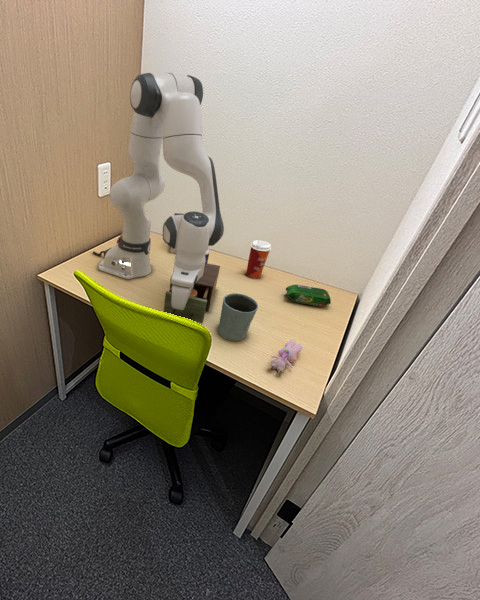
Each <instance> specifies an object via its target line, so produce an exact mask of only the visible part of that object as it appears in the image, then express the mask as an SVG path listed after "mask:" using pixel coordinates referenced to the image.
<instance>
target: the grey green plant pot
mask: <svg viewBox="0 0 480 600" xmlns="http://www.w3.org/2000/svg"><path fill="white" fill-rule="evenodd" d="M258 308H259V305H258V303H257V301H256V300H255V299H254V298H253V297H250V296H248V295H246V294H243V293H237V292H236V293H235V292H234V293H233V292H232V293H228V294H225V296H224V297H223V298H222V303H221V311H220V316H219V324H218V327H217V328H218V329H217V332H218V334H219V335H220V336H221V337H222V338H224V339H225V340H228V341H230V342H239V341H242V340H244V339H245V337H246V336H247V334H248V331H249V329H250V326H251V323H252V322H253V320H254V317H255V315H256V313H257V311H258Z"/></svg>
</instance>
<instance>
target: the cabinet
mask: <svg viewBox="0 0 480 600" xmlns="http://www.w3.org/2000/svg"><path fill="white" fill-rule="evenodd" d="M220 269H221V265H217V264H213V263H208V262H207V263H205V266H204V272H203V276H202V277H201V278H199V280H198V281H197V282H196V283H195V285H199V286H203V287H208V288H210V292H209V297H208V301H207V304H206V309H205V313H206V312H207V313H209V311H210V308H211V304H212V301H213V299H214V295H215V293H216V288H217V283H218V279H219V274H220ZM171 278H172V275H171V276H170V279H169V281H170V282H169V289H168V291H169V290H170V288H171V286H172V284H171Z"/></svg>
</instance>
